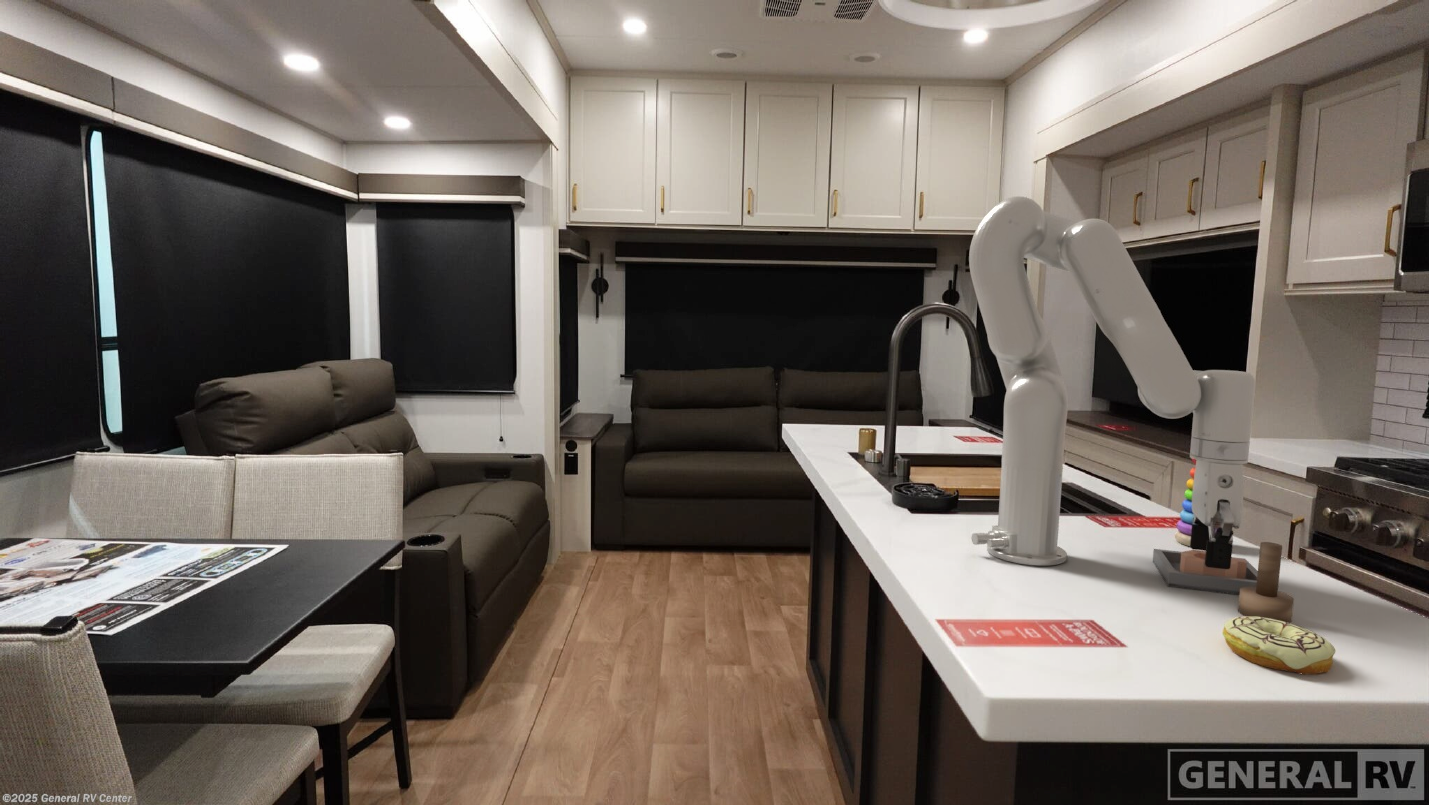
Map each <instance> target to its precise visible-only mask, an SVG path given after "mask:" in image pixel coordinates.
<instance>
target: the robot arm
mask: <svg viewBox="0 0 1429 805" xmlns="http://www.w3.org/2000/svg"><path fill="white" fill-rule="evenodd" d="M968 255H969V256H968V262H969V264H968V265H969V271H970V272H969V273H970V277H971V280H972V281H971V282H972V285H973V289H974V292H975V296H976V299H977V304H978V308H979V311H980V313H981V317H982V320H983V324H984V327H985V332H986V334H987V342H988V345H989V349H990V350H991V352H992V354H993V355H994V356H995V358H996V360H997V364H998V367H999V370H1000V373H1001V377H1002V380H1003V383H1004V386H1005V390H1006V392H1005V395H1004V402H1003V426H1002V428H1003V430H1002V431H1003V432H1002V449H1001V451H1002V453H1001V471H1000V485H999V486H1000V489H999V504H998V506H999V507H998V520H997V525H991V530H989V531H988V532H987V533H985V532H974V533H972V535H971V537H970V538H971V543H972V544H973V545H975V546H978V545H985V544H986V551H987V552H988V553H989V554H990V555H992V556H993V557H994V558H998V559H1000V560H1003V561H1007V562H1011V563H1015V564H1021V565H1027V566H1028V565H1029V566H1038V567H1040V566H1043V567H1044V566H1057V565H1060V564H1063V563H1065V562H1066V561H1067V557H1068V556H1067V555H1068V553H1067V551H1066V550H1065V549H1063V548H1062V547H1061V546H1058V540H1059V527H1060V525H1059V524H1060V516H1061V515H1060V513H1061V500H1062V499H1061V498H1062V485H1063V469H1064V467H1063V465H1064V455H1065V454H1064V451H1065V437H1066V427H1067V419H1068V409H1069V395H1068V390H1067V386H1066V384H1065V381H1064V377H1063V374H1062V372H1061V368H1060V365H1059V361H1058V359H1057V358H1058V357H1057V356H1056V352H1055V349H1054V346H1053V342H1052V339H1051V337H1050V334H1049V330H1048V327H1047V325H1046V322H1045V321H1044V319H1043V317H1041V315H1040V313H1039V310H1038V307H1037V305H1036V301H1035V298H1034V295H1033V293H1032V292H1033V291H1032V289H1031V285H1030V281H1029V278H1028V274H1027V271H1026V266H1025V263H1024V261H1025V259H1027V260H1030V261H1033V262H1036V263H1040V264H1043V265H1046V266H1048V267H1049V266H1050V267H1052V268H1055V269H1059V270H1063V271H1066V272H1069V273H1070V274H1071V276H1072V278H1073V280H1074V282H1075V284H1076V285H1077V287H1078V290H1079V291H1080V293H1081V295H1082V297H1083V299H1084V300H1085V303H1086V305H1087V306H1088V309H1089V310H1090V312H1091V314H1092V316H1093V318H1094V320H1095V321H1096V323H1097V325H1098V327H1099V329H1100V330H1101V332H1102V333H1103V334H1104V335H1105V337H1106V338H1108V340H1109V341H1110V342H1111V343H1112V344H1113V346H1114V347H1115V349H1116V351H1117V352H1118V354H1119V355H1120V357H1121V358H1122V361H1123V362H1124V363H1125V366H1126V368H1127V369H1128V371H1129V373H1130V375H1131V377H1132V378H1133V380H1134V383H1135V384H1136V386H1137V395H1138V397H1139V400H1140V402H1142V404H1143V405H1144V406H1145V407H1146V408H1147V409H1148V410H1150V411H1151V412H1152V413H1153V414H1155V415H1157V416H1159V417H1161V418H1165V419H1172V420H1173V419H1180V418H1183V417H1185V416H1186V417H1187V416H1188V415H1189V414H1191V413H1192V414H1193V417H1192V425H1191V426H1192V427H1191V428H1192V429H1191V440H1190V450H1189V458H1190V459H1191V460H1192V459H1195V460H1196V465H1195V466H1194V468H1195V474H1194V482H1193V491H1192V512H1193V514H1194V516H1193V524H1197V525H1193V524H1192V529H1191V540H1190V546H1189V547H1190V549H1191V550H1199V551H1206V555H1205V565H1206V566H1207V567H1210V568H1219V569H1230V566H1231V557H1233V556H1232V554H1233V552H1232V551H1233V545H1234V543H1233V542H1234V537H1233V536H1234V530H1233V528H1234V529H1237V530H1238V529H1240V528H1242V525H1243V510H1244V508H1243V507H1244V486H1245V484H1244V483H1245V482H1244V465H1245V464H1248V463H1249V453H1250V443H1251V441H1250V440H1251V432H1252V421H1253V413H1254V412H1253V411H1254V403H1255V402H1254V401H1255V392H1256V379H1255V377H1254V375H1253V374H1251V373H1249V372H1247V371H1242V370H1241V371H1239V370H1230V369H1227V370H1226V369H1207V370H1195V369H1194V370H1193V368H1192V366H1191V365H1190V362H1189V361H1188V359H1187V357H1186V355H1185V354H1184V351H1183V350H1182V347H1181V345H1180V344H1179V343H1178V341H1177V339H1176V337H1175V336H1174V334H1173V332H1172V330H1171V328H1170V327H1169V326H1168V324H1167V322H1166V321H1165V319H1164V317H1163V315H1162V313H1161V310H1160V309H1159V307H1158V305H1157V303H1156V302H1155V299H1154V298H1153V296H1152V294H1151V292H1150V291H1149V289H1148V287H1147V286H1146V283H1145V282H1144V280H1143V278H1142V277H1141V275H1140V273H1139V271H1138V269H1137V267H1136V265H1135V264H1134V261H1133V259H1132V258H1131V256H1130V254H1129V252H1128V251H1127V248H1126V246H1125V245H1124V243H1123V241H1122V240H1121V237H1120V236H1119V234H1118V232H1117V231H1116V229H1115V228H1114V226H1112V224H1110V223H1109V222H1108V221H1106V220H1104V219H1101V218H1087V219H1083V220H1075V219H1071V218H1068V217H1064V216H1060V215H1057V214H1054V213H1051V212H1047V211H1044V210H1043V209H1042V207H1041V206H1040V204H1038V203H1037V201H1035V200H1033V199H1032V198H1029V197H1027V196H1026V197H1025V196H1020V195H1018V196H1011V197H1008V198H1006V199H1004V200H1001V201H1000V202H999V203H997V204H996V205H995V206H993V207H992V208H991V209H990V210H989V211H988V212H987V213H986V214H985V216H983V218H982V220H981V221H980V222H979V224H978V226H976V229H975V232H974V234H973V236H972V239H971V243H970V246H969V254H968ZM1215 528H1218V529H1217V531H1216V533H1215Z"/></svg>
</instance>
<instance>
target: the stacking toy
mask: <svg viewBox="0 0 1429 805" xmlns="http://www.w3.org/2000/svg"><path fill="white" fill-rule="evenodd" d="M1191 460H1192V463H1193V464H1194V465H1195V466H1196V460H1195V459H1192V458H1191ZM1194 474H1195V467H1192V468H1191V469H1190V471H1189V475H1190V479H1188V480H1187V481H1186V482H1185V483H1186V487H1187V489H1186V490H1185V491H1184V497H1185V498H1186V499H1184V500H1183V502H1182V504H1181V507H1182V510H1181V512H1180V513H1179V517H1180V518H1179V519H1180V520H1178V521H1177V523H1176V528H1177V531H1176V532H1175V533H1174V539H1175V540H1176V542H1178V544H1179V543H1180V544H1181V545H1184V546H1187V547H1190V540H1191V529H1192V524H1193V516H1194V514H1193V512H1192V491H1193V482H1194ZM1193 525H1197V524H1193ZM1217 529H1218V528H1215V533H1216V531H1217Z"/></svg>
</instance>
